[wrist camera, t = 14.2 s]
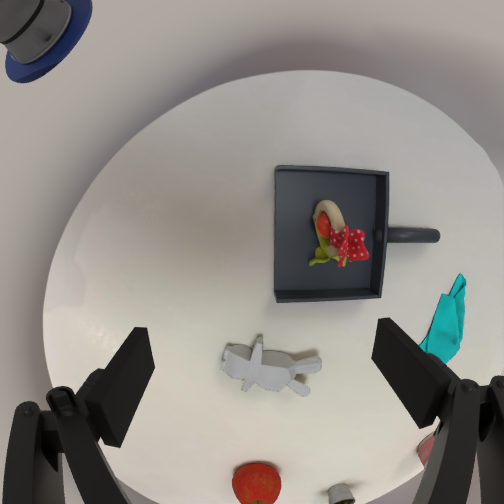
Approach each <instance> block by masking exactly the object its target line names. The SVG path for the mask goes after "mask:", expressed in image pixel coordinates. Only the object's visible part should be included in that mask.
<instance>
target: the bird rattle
mask: <svg viewBox="0 0 504 504" xmlns="http://www.w3.org/2000/svg"><path fill="white" fill-rule="evenodd" d="M313 219H314V222H315V228H316V233H317V236H318V239H319V243H320V246H319V247H318V248H317V249H316V251H315V256H316V257H315V258H314V259H312V260H310V262H309V266H312V265H314V264H315V263H317V262H318V263H325V262H327V261H329V260H330V258H334V259H336V260H337V261H339V262H338V267H342V266H343V267H344V266H345V265H346V260H347V258H348V260H349V261H350V262H352V261H354V260H366V259H368V258H369V257H370V256H369V253H368V252H367V249H366V248H365V246H364V243H363V241H364V238H365V234H364V232H363V231H362V230H359V229H354V230H351V231H349V228H348V226H347V225H345V223H344V219H343V216H342V214H341V212H340V210H339V208H338V207H337V205H336V204H335V203H334V202H332V201H330V200H323V201H321V202H319V203H318V205H317V206H316V209H315V214H314V215H313Z"/></svg>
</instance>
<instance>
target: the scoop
mask: <svg viewBox="0 0 504 504" xmlns="http://www.w3.org/2000/svg"><path fill="white" fill-rule="evenodd" d="M375 191H376V206H375ZM323 200H330V201H332V202H334V203H335V204H336V205H337V207H338V208H339V210H340V212H341V214H342V216H343V219H344V223H345V225H347V226H348V228H349V231H351V230H354V229H359V230H362V231H363V232H364V234H365V238H364V241H363V243H364V246H365V248H366V249H367V252H368V253H369V256H370V257H369V258H368V259H366V260H354V261H352V262H350V261H349V260H348V258H347V260H346V265H345V266H344V267H343V266H342V267H338V262H339V261H337V260H336V259H334V258H330V260H329V261H327V262H325V263H318V262H317V263H315V264H314V265H312V266H309V262H310V260H312V259H314V258H315V257H316V256H315V251H316V249H317V248H318V247H319V246H320V243H319V239H318V236H317V233H316V228H315V222H314V219H313V215H314V214H315V209H316V206H317V205H318V203H319V202H321V201H323ZM388 214H389V172H385V171H375V170H364V169H351V168H337V167H319V166H294V165H278V166H277V167H275V257H274V295H275V298H276V302H277V303H290V302H318V301H340V300H357V299H373V298H381V294H382V286H383V278H384V269H385V259H386V247H387V243H436V242H438V241H439V239H440V233H439V231H438V230H436V229H422V228H390V227H388ZM374 224H375V230H374ZM373 241H374V246H373ZM372 255H373V259H372ZM371 266H372V270H371ZM370 277H371V280H370ZM369 286H370V288H369Z"/></svg>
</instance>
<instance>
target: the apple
mask: <svg viewBox="0 0 504 504" xmlns="http://www.w3.org/2000/svg"><path fill="white" fill-rule="evenodd" d="M232 487H233V490H234V493H235V495H236V497H237V499H238V500H239V502H240V503H241V504H273V503H274V502H275V501H276V500H277V498H278V496H279V493H280V490H281V478H280V476H279V474H278V472H277V471H276V470H275V469H274V468H272V467H270V466H268V465H264V464H261V463H251V464H247V465H244V466H243V467H241V468H239V469H238V471H237V472H236V473H235V474H234V476H233V478H232Z"/></svg>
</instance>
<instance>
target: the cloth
mask: <svg viewBox="0 0 504 504" xmlns="http://www.w3.org/2000/svg"><path fill="white" fill-rule="evenodd" d="M465 286H466V279H465V278H464V277H463V276H462V274H459V276H458V278H457V280H456V281H455V284H454V286H453V288H452V291H451V293H450V295H449V296H448V295H444V294H442V296H441V299H440V301H439V304H438V307H437V310H436V313H435V316H434V320H433V323H432V327H431V330H430V332H429V334H428V336H427V337H426V338H425V339H424V341H423V343H422V344H420V345H419V346H420V347H421V348H422V349H423V350H424V351H425V352H426V353H432V354H434V355H436V356H438V357H439V358H440V359H441V360H442V361H443V363H445V364H446V363H447V362H448V361H449V360H450V359H451V358H452V357H453V356H454V355H455V354H456V353H457V351H458V350H459V349H460V342H461V340H462V336H463V326H464V313H465V306H464V297H465Z"/></svg>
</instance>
